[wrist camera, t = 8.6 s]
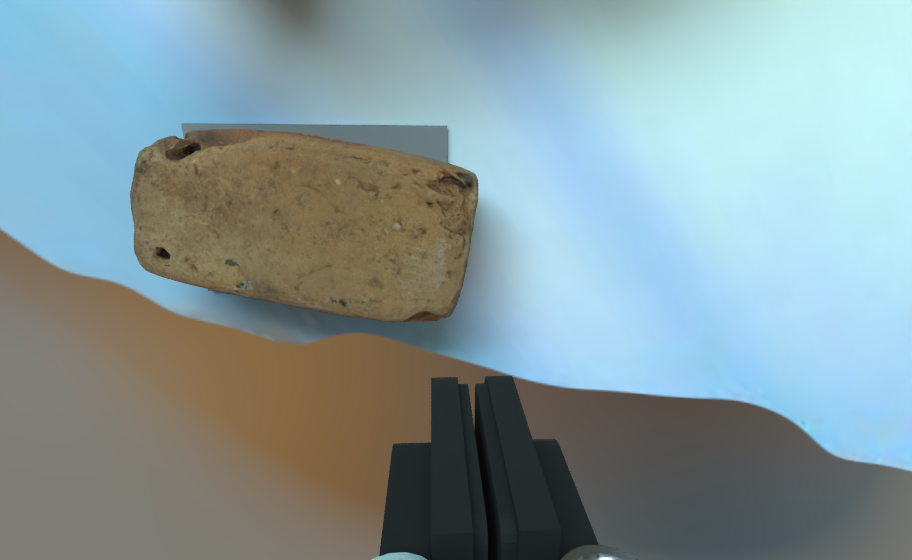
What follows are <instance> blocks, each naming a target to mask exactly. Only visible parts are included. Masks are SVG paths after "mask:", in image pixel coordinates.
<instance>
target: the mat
mask: <svg viewBox="0 0 912 560" xmlns="http://www.w3.org/2000/svg"><path fill="white" fill-rule="evenodd" d="M209 129H254V130H262V131H280V132H298V133H305V134H311V135H315V136H321V137H327V138H333V139H338V140H344V141H349V142H355V143H360V144H365V145H370V146H375V147H381V148H386V149H392V150H396V151H401V152H406V153H410V154H415V155H419V156H423V157H428V158H432V159H435V160H439V161H442V162H446V163H447V126H401V125H293V124H185V123H183V124H182V130H183V136H184V139H185V133H186V132H187V131H192V130H209ZM208 291H216V290H211V289H208Z"/></svg>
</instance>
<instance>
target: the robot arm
mask: <svg viewBox="0 0 912 560" xmlns="http://www.w3.org/2000/svg"><path fill="white" fill-rule="evenodd" d="M431 382H432V383H431V400H432V401H431V404H432V405H431V407H432V408H431V443H401V444H393V449H392V456H391V465H390V472H389V480H388V489H387V497H386V506H385V514H384V522H383V530H382V538H381V547H380V555H379V557H376V558H374V559H372V560H637V559H636V558H635V557H634V556H632V555H630V554H628V553H626V552H624V551H621V550H619V549H617V548H613V547H609V546H604V545H599V544H598V542H597V539H596V537H595V534H594V532H593V529H592V527H591V524H590V522H589V519H588V517H587V514H586V512H585V509H584V506H583V504H582V501H581V499H580V496H579V494H578V491H577V489H576V486H575V484H574V481H573V479H572V477H571V474H570V471H569V469H568V466H567V464H566V461H565V459H564V456H563V453H562V451H561V448H560V446H559V444H558V442H557V441H556V440H555V439H538V440H537V439H536V440H532V436H531V433H530V430H529V427H528V424H527V421H526V418H525V414H524V412H523V408H522V405H521V402H520V399H519V396H518V393H517V389H516V386H515V383H514V380H513V377H512V376H486V377H485V384H476V386H475V432H474V425H473V418H472V411H471V404H470V396H469V389H468V384H458V379H457V377H447V378H446V377H445V378H444V377H443V378H432V379H431Z"/></svg>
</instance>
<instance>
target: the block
mask: <svg viewBox="0 0 912 560" xmlns="http://www.w3.org/2000/svg"><path fill="white" fill-rule="evenodd" d="M130 198H131V210H132V216H133V221H134V230H135V231H134V251H135V254H136V257H137V259H138V261H139V263H140V265H141V266H142V267H143V268H144V269H145V270H146V271H148V272H150V273H153V274H156V275H158V276H161V277H164V278H167V279H171V280H175V281H179V282H182V283H186V284H190V285H194V286H198V287H202V288H207V289H211V290H216V291H220V292H225V293H229V294H234V295H240V296H245V297H250V298H255V299H260V300H265V301H271V302H276V303H281V304H286V305H291V306H296V307H300V308H305V309H311V310H317V311H321V312H327V313H333V314H338V315H344V316H350V317H360V318H367V319H374V320H382V321H390V322H406V321H437V320H438V319H441V318H446V317H448V316H450V315H451V314H452V312H453V310H454V308H455V306H456V304H457V301H458V298H459V296H460V291H461V288H462V285H463V281H464V276H465V272H466V267H467V259H468V254H469V250H470V242H471V235H472V231H473V224H474V216H475V211H476V207H477V202H478V180H477V177H476V175H475V174H474V173H473V172H470V171H468V170H466V169H463V168H461V167H458V166H455V165H452V164H449V163H446V162H442V161H439V160H435V159H432V158H428V157H423V156H419V155H415V154H410V153H406V152H401V151H396V150H392V149H386V148H381V147H375V146H370V145H365V144H360V143H355V142H349V141H344V140H338V139H333V138H327V137H321V136H315V135H311V134H305V133H298V132H280V131H262V130H254V129H209V130H192V131H187V132H186V133H185V139H184V140H183V139H179V138H178V137H176V136H170V137H166V138H163V139H160V140H157V141H156V142H155V143H154V144H152V145H151V146H149V147H145V148H144V149H143V150H141V151H140V152H139V154H138V157H137V161H136V164H135V169H134V177H133V182H132V187H131V193H130Z"/></svg>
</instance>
